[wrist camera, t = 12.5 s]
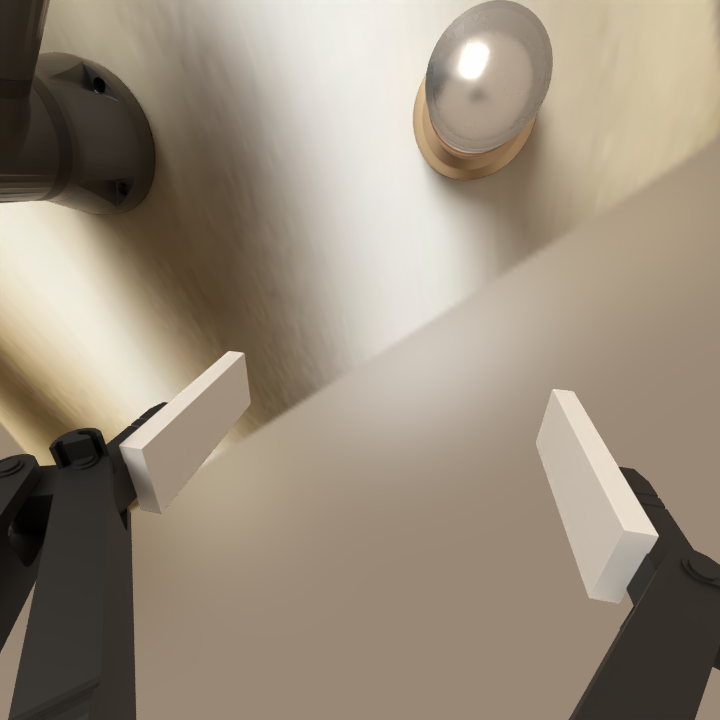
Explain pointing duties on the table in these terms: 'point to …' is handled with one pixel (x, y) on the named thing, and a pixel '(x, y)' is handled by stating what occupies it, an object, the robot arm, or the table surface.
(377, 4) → the table surface
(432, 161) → the stand
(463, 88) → the can
